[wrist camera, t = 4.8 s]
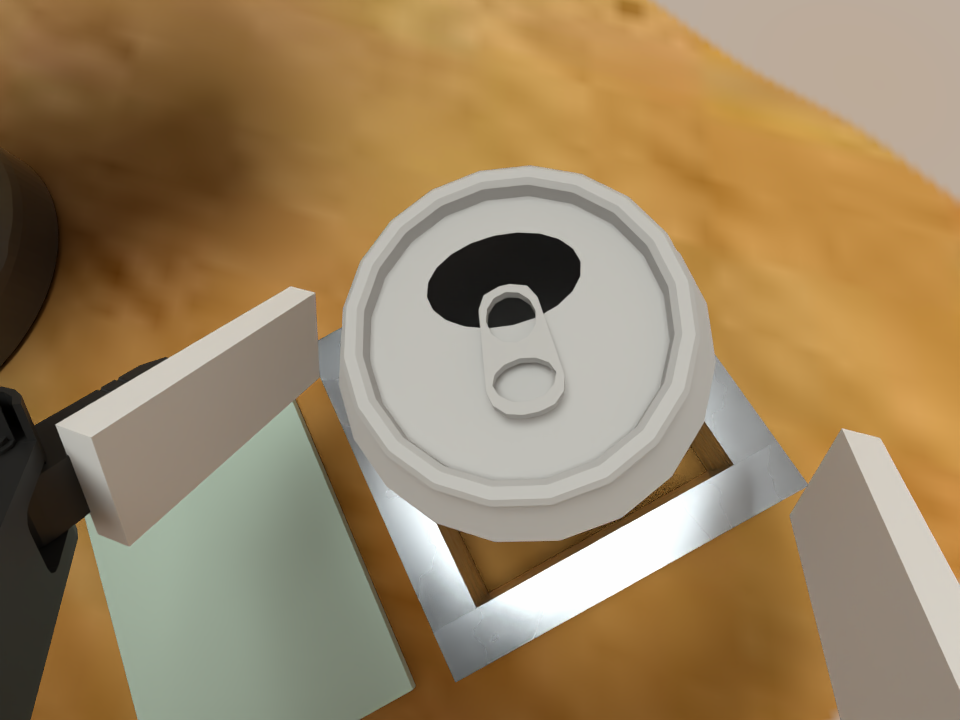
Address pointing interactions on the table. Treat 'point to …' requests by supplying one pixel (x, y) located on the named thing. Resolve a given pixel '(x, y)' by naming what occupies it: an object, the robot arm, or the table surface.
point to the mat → (252, 596)
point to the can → (524, 355)
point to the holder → (592, 562)
